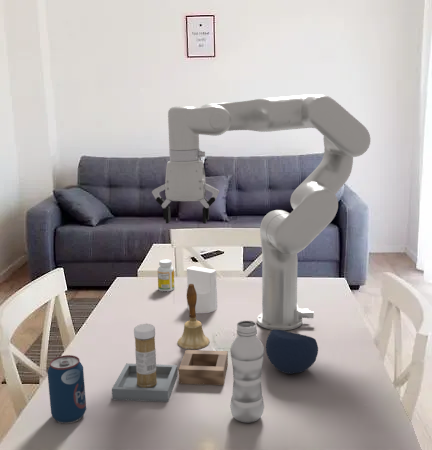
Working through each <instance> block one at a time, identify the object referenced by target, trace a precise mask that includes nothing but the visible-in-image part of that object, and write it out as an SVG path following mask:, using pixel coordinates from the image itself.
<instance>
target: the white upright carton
mask: <svg viewBox="0 0 432 450" xmlns="http://www.w3.org/2000/svg"><path fill="white" fill-rule="evenodd" d="M186 284H187V285H186V286H187V287H186V291H187V290H188V286H189V284H194V288H195V290H196V294H197V302H196V306H195V312H196V314H208V313H212V312H215V311H216V310H217V309H218V286H217V269H211V268H206V267H199V266H196V265H195V266H194V265H192V266H189V267H187V268H186ZM186 302H187V301H186ZM187 310H188V311H189V305H188V302H187Z"/></svg>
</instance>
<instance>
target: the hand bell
mask: <svg viewBox="0 0 432 450" xmlns="http://www.w3.org/2000/svg"><path fill="white" fill-rule="evenodd" d="M186 302H188V305H189V310H188V313H189V314H188V315H189V317H188V318H189V320H187V321H186V322H184V326H183V332H182V335H181V337H179V338H178V340H177V346H179V348H182V349H184V350H201V349H204V348H206V347H207V346H208V345H210V339H209V337H207V336H206V334H205V333H204V330H203V329H204V328H203V325H202V322H201V321H199V320H197V316H196V314H197V313H196V312H195V306H196V302H197V294H196V290H195V288H194V284H189V286H188V290H187V289H186Z"/></svg>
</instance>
